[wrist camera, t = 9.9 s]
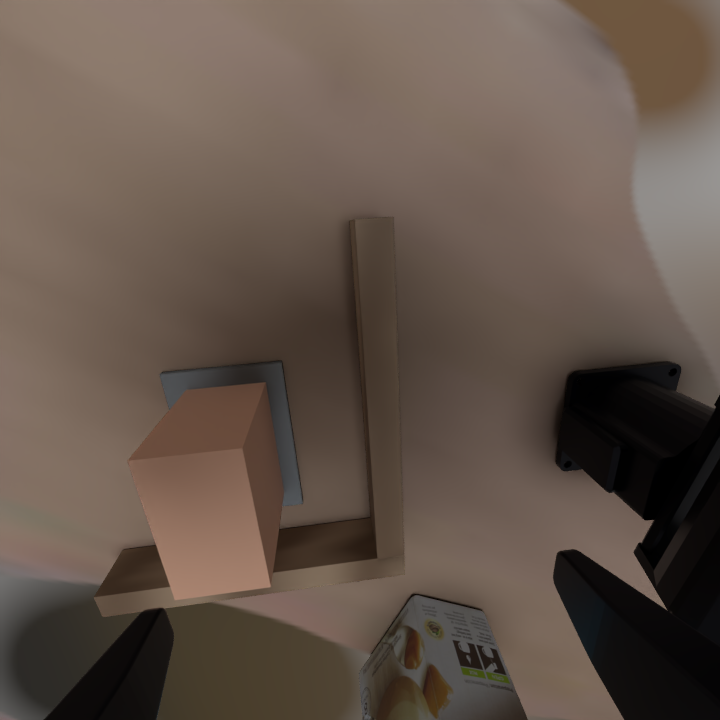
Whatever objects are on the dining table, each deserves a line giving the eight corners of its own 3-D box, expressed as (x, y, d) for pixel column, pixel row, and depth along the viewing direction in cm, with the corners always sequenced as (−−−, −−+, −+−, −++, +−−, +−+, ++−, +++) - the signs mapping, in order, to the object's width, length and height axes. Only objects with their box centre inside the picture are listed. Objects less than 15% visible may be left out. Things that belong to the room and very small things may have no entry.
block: (284, 491, 21) (270, 587, 16) (214, 500, 21) (174, 600, 15) (265, 382, 19) (242, 448, 13) (186, 389, 18) (127, 460, 13)
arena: (381, 218, 17) (393, 216, 14) (394, 533, 24) (404, 574, 21) (4, 245, 16) (-66, 248, 13) (130, 567, 22) (102, 617, 20)
